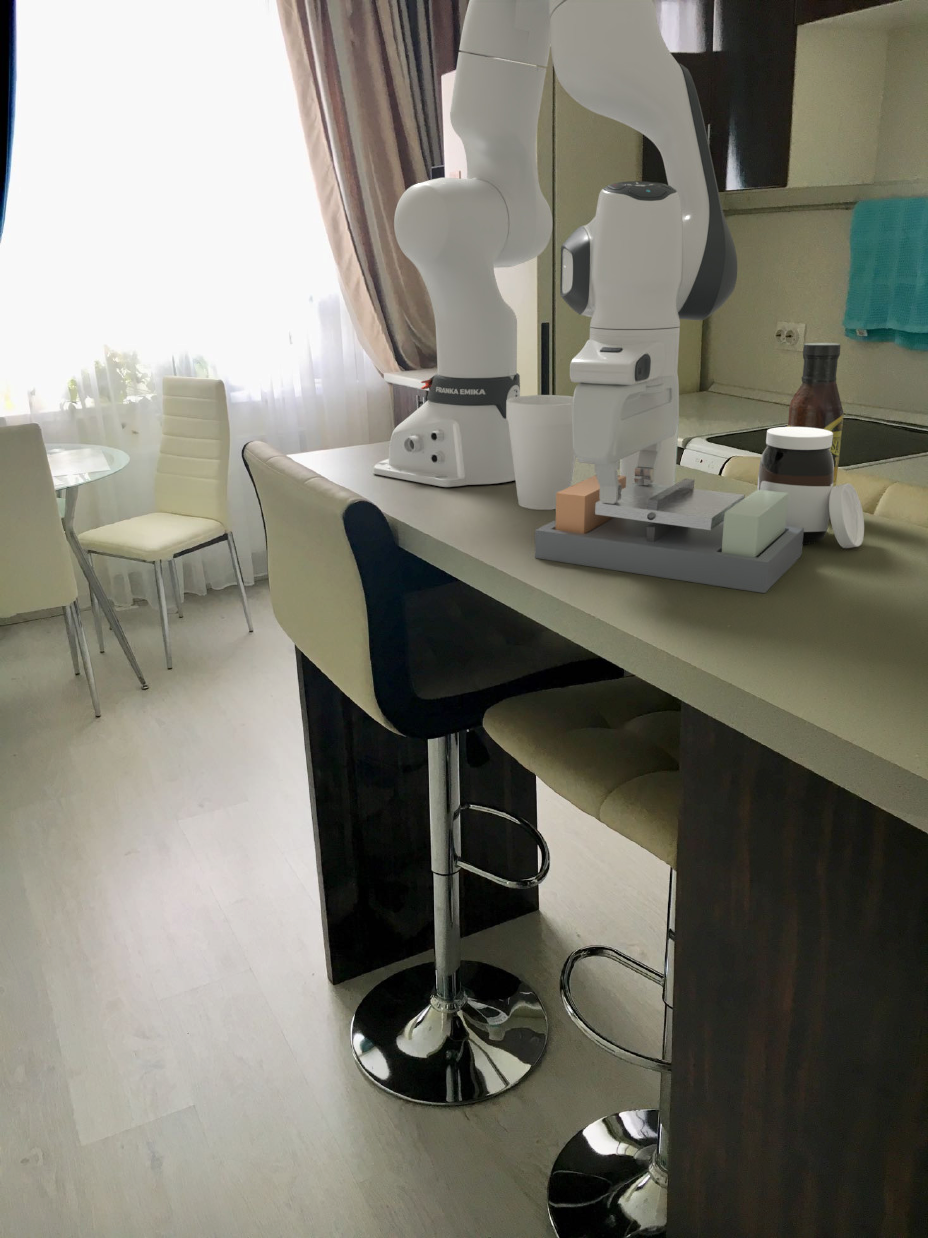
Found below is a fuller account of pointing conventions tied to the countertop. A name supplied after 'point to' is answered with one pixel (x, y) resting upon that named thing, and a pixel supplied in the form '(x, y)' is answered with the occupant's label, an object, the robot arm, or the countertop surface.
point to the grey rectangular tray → (670, 552)
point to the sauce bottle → (819, 395)
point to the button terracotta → (581, 506)
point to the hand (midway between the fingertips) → (627, 492)
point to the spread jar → (810, 485)
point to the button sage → (754, 523)
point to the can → (664, 465)
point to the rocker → (671, 505)
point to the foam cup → (541, 447)
